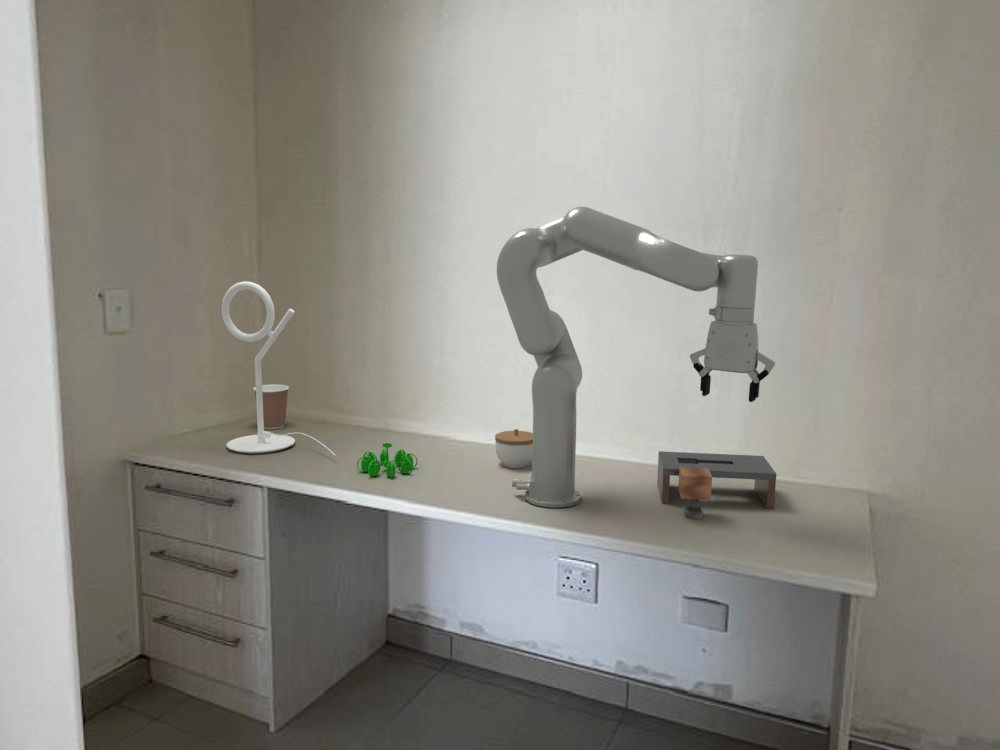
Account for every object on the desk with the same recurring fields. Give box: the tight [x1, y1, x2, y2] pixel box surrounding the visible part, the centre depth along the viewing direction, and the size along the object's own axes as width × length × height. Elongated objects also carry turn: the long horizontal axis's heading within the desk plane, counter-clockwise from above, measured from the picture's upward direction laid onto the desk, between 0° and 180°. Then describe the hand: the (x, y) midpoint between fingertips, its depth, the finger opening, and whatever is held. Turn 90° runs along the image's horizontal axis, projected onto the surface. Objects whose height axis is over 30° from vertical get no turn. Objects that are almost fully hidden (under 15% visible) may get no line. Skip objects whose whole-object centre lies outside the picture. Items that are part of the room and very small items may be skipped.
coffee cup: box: [252, 384, 290, 430], centre depth 237 cm, size 10×10×12 cm
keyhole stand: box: [656, 451, 777, 510], centre depth 179 cm, size 24×14×8 cm, turn 83°
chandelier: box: [356, 442, 418, 479], centre depth 195 cm, size 15×15×7 cm
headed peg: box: [677, 467, 713, 520], centre depth 165 cm, size 6×6×10 cm
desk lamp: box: [221, 280, 337, 458], centre depth 210 cm, size 37×18×45 cm, turn 73°
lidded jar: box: [494, 428, 533, 469], centre depth 201 cm, size 11×11×9 cm
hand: (728, 397), depth 163 cm, fingers open, 9 cm apart
